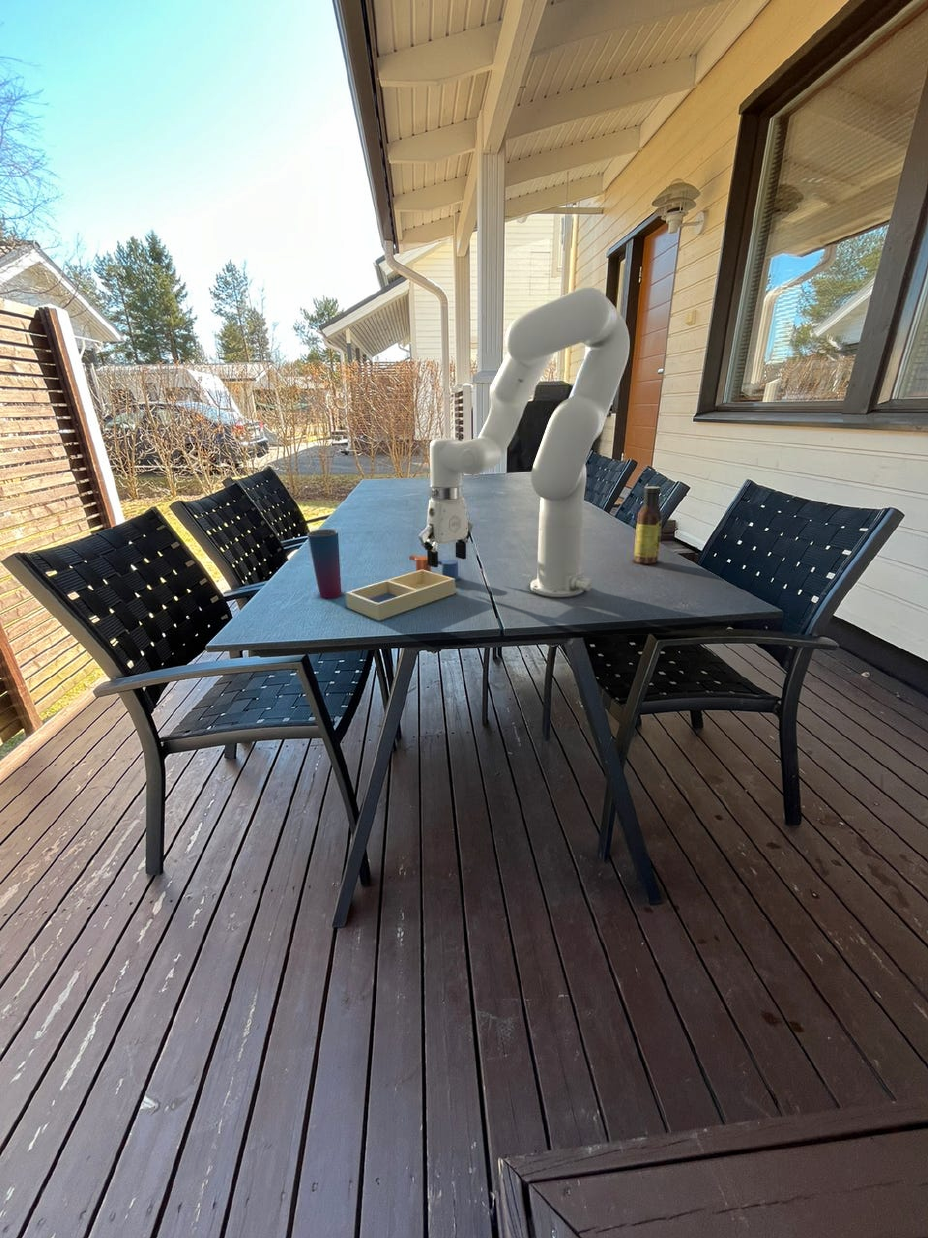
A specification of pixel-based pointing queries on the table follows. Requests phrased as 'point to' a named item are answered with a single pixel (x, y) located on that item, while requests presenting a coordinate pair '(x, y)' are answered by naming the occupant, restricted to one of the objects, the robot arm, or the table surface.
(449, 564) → the blue scoop
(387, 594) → the sorter
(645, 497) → the sauce bottle
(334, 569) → the cup
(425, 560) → the orange scoop
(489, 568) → the table surface
